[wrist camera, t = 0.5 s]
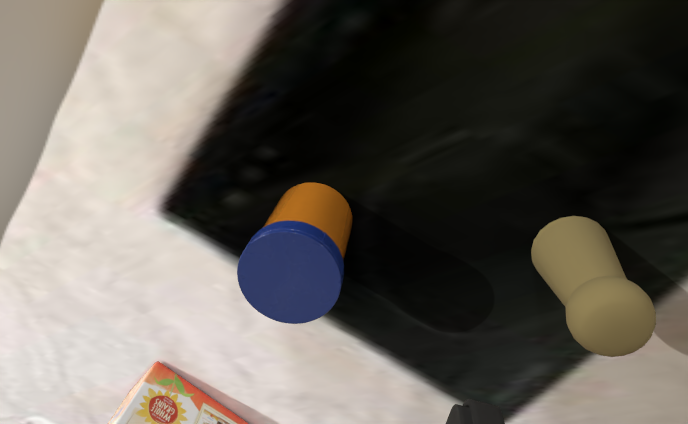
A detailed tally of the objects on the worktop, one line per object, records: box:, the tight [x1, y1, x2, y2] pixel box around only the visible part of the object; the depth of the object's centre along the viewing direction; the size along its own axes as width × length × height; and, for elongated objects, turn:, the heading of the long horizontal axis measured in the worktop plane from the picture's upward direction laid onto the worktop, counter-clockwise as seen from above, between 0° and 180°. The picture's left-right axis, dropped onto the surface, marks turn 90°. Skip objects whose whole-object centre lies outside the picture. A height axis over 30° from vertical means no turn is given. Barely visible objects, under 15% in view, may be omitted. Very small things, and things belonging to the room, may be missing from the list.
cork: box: [531, 216, 656, 357], centre depth 38 cm, size 6×6×11 cm
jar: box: [263, 183, 352, 260], centre depth 40 cm, size 6×6×10 cm
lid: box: [237, 220, 344, 324], centre depth 36 cm, size 7×7×2 cm
